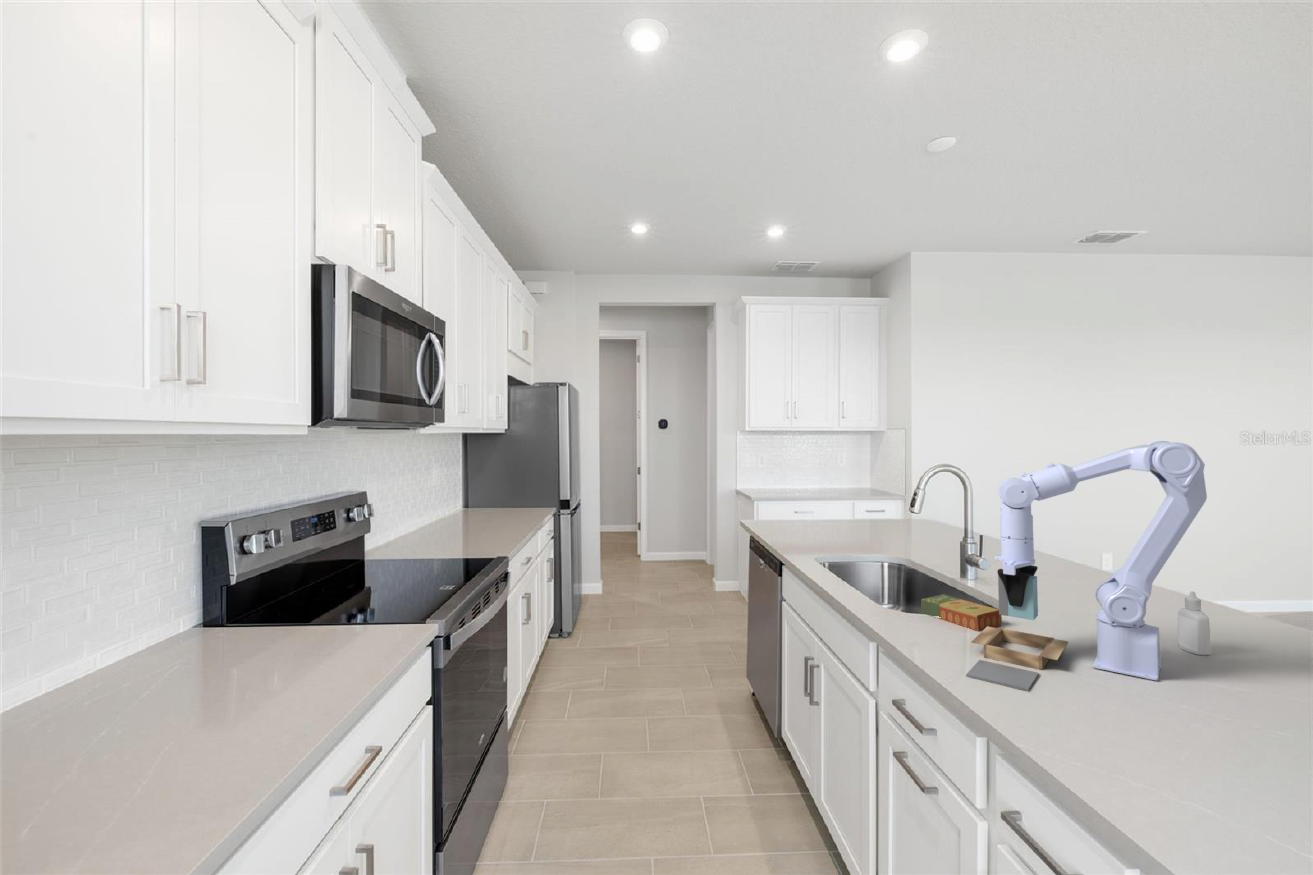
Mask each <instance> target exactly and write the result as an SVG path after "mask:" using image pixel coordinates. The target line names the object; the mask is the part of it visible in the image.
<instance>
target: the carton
mask: <svg viewBox="0 0 1313 875" xmlns="http://www.w3.org/2000/svg"><path fill="white" fill-rule="evenodd" d="M920 603H921V604H920V605H921V606H920V607H921V613H922V614H923V615H927V616H930V617H933V616H939V617H941V618H938V620H941V621H945V622H948V623H951V624H953V623H954V625H956V624H957V625H956V626H959V627H963V628H965V627H966V629H968V628H969V629H968V630H971V629H972V630H971V631H974V632H977V633H978V632H982V631H983V630H984V629H985V628H986V627H987V626H988V627H993V628H995V627H996V628H999V627H1000V628H1001V627H1002V624H1003V623H1002V620H1003V619H1002V616H1003V615H999V608H995V607H991V606H987V605H984V604H980V603H976V602H974V601H969V600H965V599H962V598H959V597H955V596H951V595H947V594H946V593H945V594H939V595H935V596H929V597H925V598H921V602H920Z"/></svg>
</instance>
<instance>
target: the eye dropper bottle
mask: <svg viewBox="0 0 1313 875" xmlns="http://www.w3.org/2000/svg"><path fill="white" fill-rule="evenodd" d="M1210 626H1211V625H1210V618H1209V616H1208V615H1207V614H1206V613H1205V612H1203V611H1202V599H1200V598H1198V597H1197V595H1196V592H1195V591H1189V595H1188V596H1186V597H1184V607H1183V608H1180V609H1178V611H1177V643H1178V644H1177V645H1178V647H1180V648H1181V649H1182V650H1184V651H1186V652H1188V653H1191V654H1194V655H1198V656H1210V655H1211V630H1210V629H1211V627H1210Z"/></svg>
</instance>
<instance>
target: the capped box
mask: <svg viewBox="0 0 1313 875" xmlns="http://www.w3.org/2000/svg"><path fill="white" fill-rule="evenodd" d="M997 576H998V577H997V583H998V584H997V585H998V586H997V587H998V609H999V615H1001V616H1006V617H1012V618H1016V619H1017V618H1018V619H1024V620H1029V621H1030V620H1031V621H1035V619H1036V618H1037V617H1038V616H1039V607H1038V606H1039V604H1038V600H1039V599H1038V598H1039V597H1038V594H1039V593H1038V576H1037V575H1034V576H1030V578H1029V579H1028V582H1027V584H1026V588H1025V594H1024V601H1023V605H1022V607H1017V606H1011V605H1010V604H1009V601H1008V598H1007V594H1006V590H1005V587H1004V584H1003V582H1002V580H1001V579H1000V577H999V575H998V574H997Z"/></svg>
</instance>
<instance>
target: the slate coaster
mask: <svg viewBox="0 0 1313 875" xmlns="http://www.w3.org/2000/svg"><path fill="white" fill-rule="evenodd" d="M1039 675H1040V673H1039V672H1036V671H1032V670H1029V669H1022V668H1019V667H1014V666H1010V665H1009V666H1008V665H1005V664H1002V663H1001V664H1000V663H996V662H991V661H987V660H982V659H979V660H978V661H977V662H976V663H975V664H974V665H973V666H972V668H971V669H970V670H968V672H967V673H966V676H965V677H968V678H971V679H972V678H973V679H976V680H979V681H983V682H989V683H991V684H992V683H993V684H996V685H1000V686H1004V687H1008V688H1013V689H1017V690H1021V691H1026V692H1029V691H1030V689H1031V688H1032V686H1033V685H1034V683H1035V682H1036V680H1037V679H1038V677H1039Z"/></svg>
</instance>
